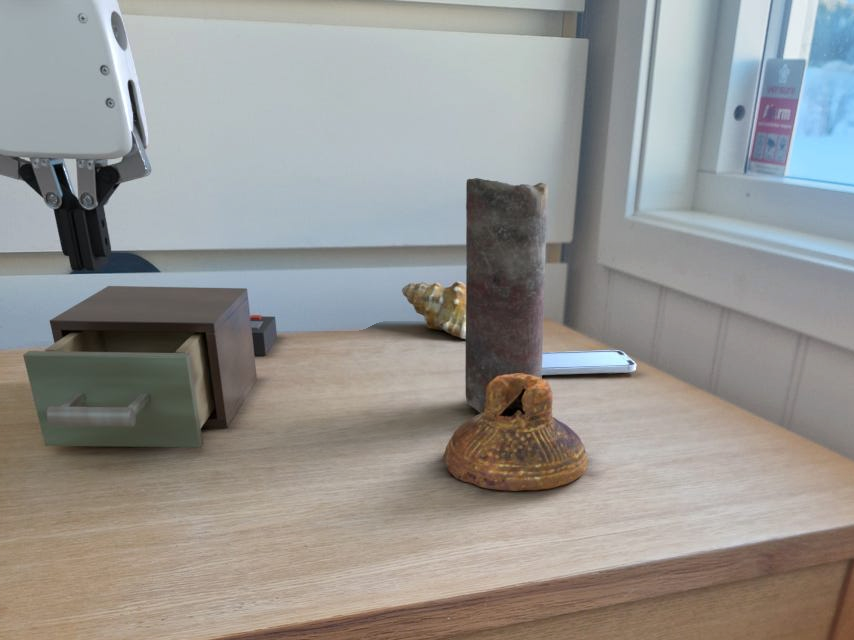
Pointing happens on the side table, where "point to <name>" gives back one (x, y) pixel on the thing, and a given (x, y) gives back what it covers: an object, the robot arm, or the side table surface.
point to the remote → (263, 333)
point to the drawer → (123, 389)
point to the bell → (516, 440)
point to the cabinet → (180, 330)
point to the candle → (503, 282)
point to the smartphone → (586, 362)
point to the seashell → (440, 305)
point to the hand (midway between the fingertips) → (90, 267)
